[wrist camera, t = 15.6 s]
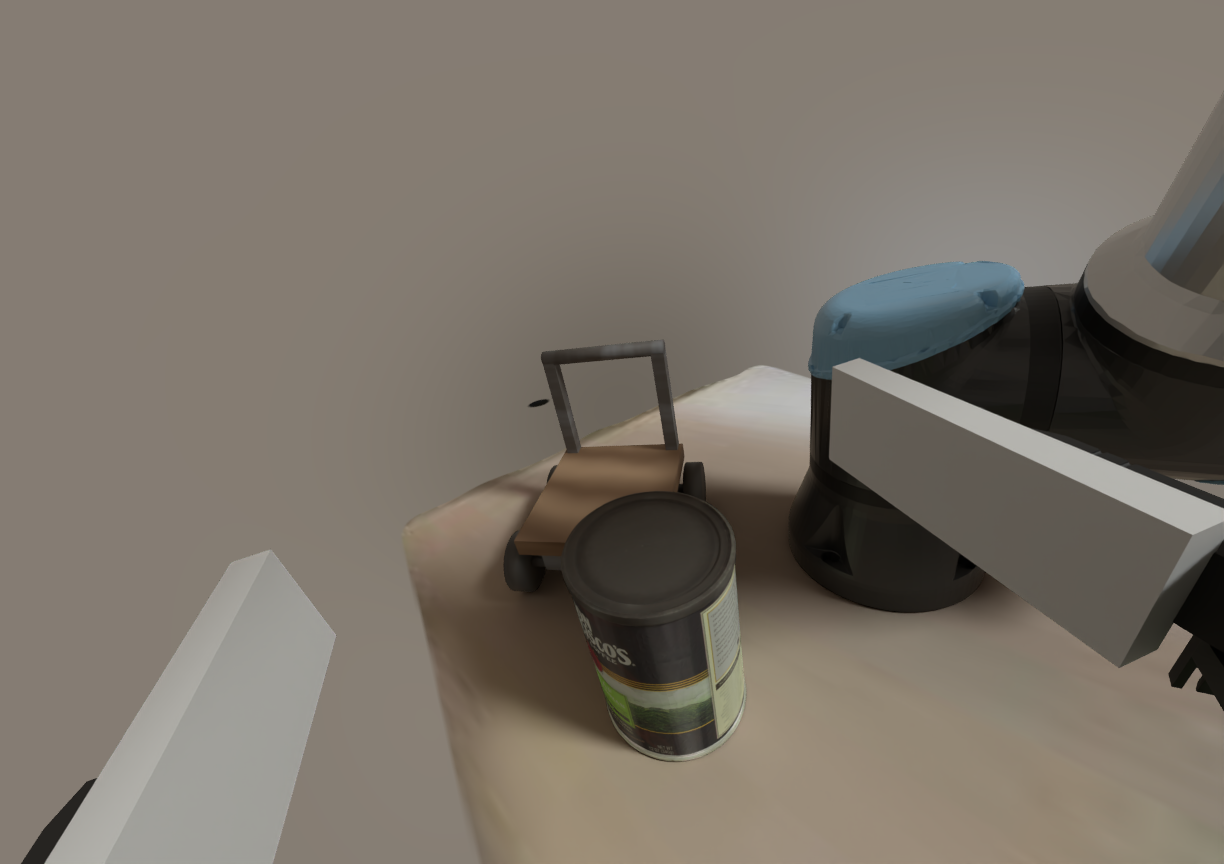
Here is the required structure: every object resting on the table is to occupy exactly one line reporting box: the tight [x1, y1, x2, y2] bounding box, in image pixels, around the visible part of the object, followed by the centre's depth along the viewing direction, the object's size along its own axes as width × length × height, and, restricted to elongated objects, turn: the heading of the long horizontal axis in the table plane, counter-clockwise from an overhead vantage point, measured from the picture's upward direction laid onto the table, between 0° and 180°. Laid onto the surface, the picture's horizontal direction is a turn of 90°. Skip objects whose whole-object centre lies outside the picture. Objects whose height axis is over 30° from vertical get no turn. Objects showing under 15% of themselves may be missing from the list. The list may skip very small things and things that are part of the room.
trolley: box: [504, 340, 706, 592], centre depth 44 cm, size 17×17×19 cm
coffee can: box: [561, 491, 746, 761], centre depth 31 cm, size 10×10×14 cm
